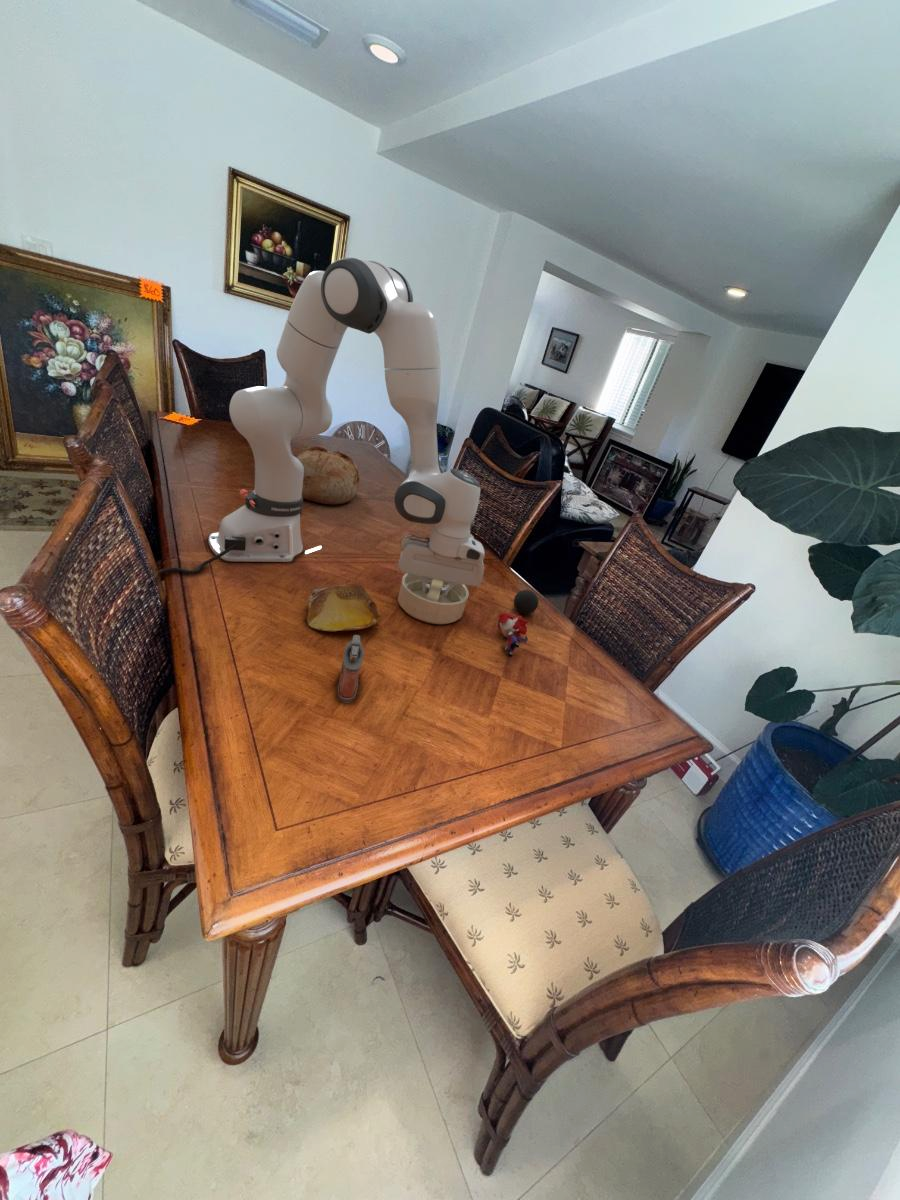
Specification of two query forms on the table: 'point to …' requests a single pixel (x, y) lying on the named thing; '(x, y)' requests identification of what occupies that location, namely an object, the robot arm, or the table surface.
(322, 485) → the bread
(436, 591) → the stick
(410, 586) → the bowl
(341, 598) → the brown yellow irregular block
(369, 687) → the table surface
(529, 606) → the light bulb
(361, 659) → the lighter
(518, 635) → the figurine
